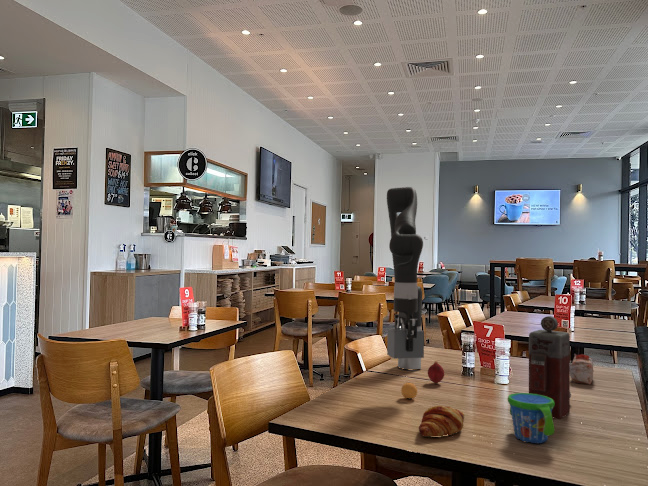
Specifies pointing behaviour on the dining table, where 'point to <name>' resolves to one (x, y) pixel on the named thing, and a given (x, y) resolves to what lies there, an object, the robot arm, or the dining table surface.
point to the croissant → (441, 421)
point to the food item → (581, 369)
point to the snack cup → (531, 416)
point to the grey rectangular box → (404, 344)
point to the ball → (409, 390)
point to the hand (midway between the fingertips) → (405, 349)
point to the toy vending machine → (550, 365)
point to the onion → (435, 372)
